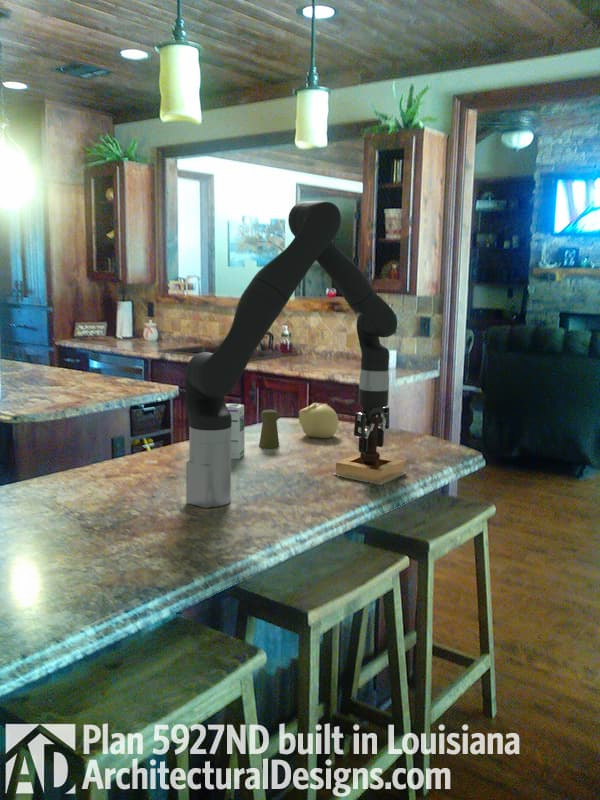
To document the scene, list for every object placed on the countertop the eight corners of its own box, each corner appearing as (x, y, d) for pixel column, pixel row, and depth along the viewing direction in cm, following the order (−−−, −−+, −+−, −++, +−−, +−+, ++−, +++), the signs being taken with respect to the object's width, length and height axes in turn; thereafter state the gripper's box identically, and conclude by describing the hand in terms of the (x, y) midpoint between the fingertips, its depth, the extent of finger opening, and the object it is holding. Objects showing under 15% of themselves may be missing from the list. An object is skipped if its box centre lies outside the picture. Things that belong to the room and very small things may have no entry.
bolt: (380, 470, 189) (383, 414, 186) (380, 476, 184) (383, 418, 181) (358, 469, 190) (360, 413, 187) (357, 474, 185) (360, 417, 182)
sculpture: (320, 431, 237) (321, 398, 235) (345, 438, 228) (346, 404, 226) (293, 435, 230) (293, 401, 228) (317, 442, 221) (318, 408, 219)
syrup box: (239, 459, 198) (240, 407, 196) (218, 458, 199) (219, 406, 197) (244, 454, 204) (245, 404, 201) (224, 453, 205) (224, 402, 202)
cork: (255, 445, 215) (256, 408, 214) (274, 443, 218) (275, 407, 216) (263, 449, 210) (264, 412, 208) (282, 448, 213) (283, 411, 211)
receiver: (381, 485, 178) (381, 471, 177) (332, 475, 185) (333, 462, 185) (406, 473, 189) (407, 460, 189) (360, 464, 197) (360, 452, 196)
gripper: (373, 392, 175) (370, 457, 178) (399, 385, 187) (396, 446, 190) (346, 389, 180) (344, 452, 182) (374, 382, 191) (371, 442, 194)
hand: (371, 449), depth 186 cm, fingers open, 8 cm apart
